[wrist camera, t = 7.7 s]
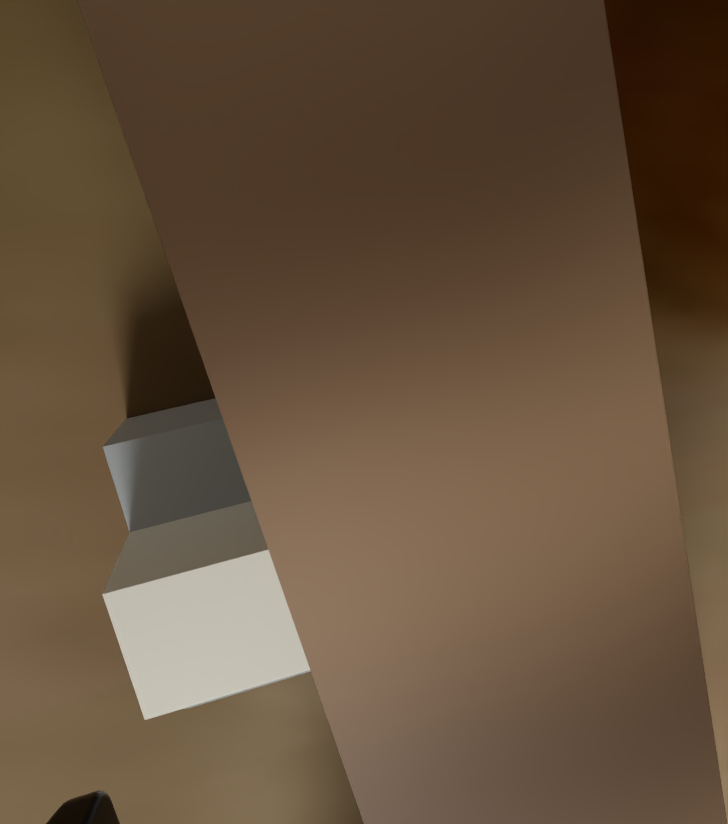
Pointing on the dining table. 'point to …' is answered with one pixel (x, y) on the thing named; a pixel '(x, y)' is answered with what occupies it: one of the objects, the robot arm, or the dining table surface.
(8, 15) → the dining table surface
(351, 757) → the walnut bar
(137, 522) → the ridge stand
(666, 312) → the dining table surface
